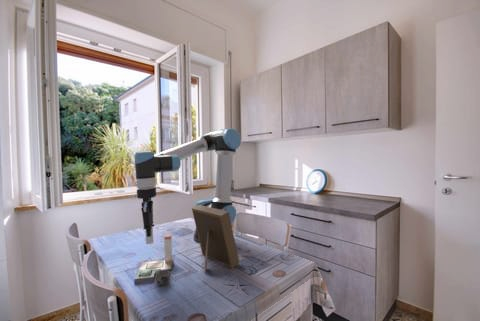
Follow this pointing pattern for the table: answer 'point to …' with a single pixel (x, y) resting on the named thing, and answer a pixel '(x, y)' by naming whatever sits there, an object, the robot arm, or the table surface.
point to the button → (145, 272)
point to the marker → (168, 248)
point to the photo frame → (215, 235)
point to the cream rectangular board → (156, 265)
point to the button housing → (144, 277)
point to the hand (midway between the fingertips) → (149, 243)
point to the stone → (162, 277)
